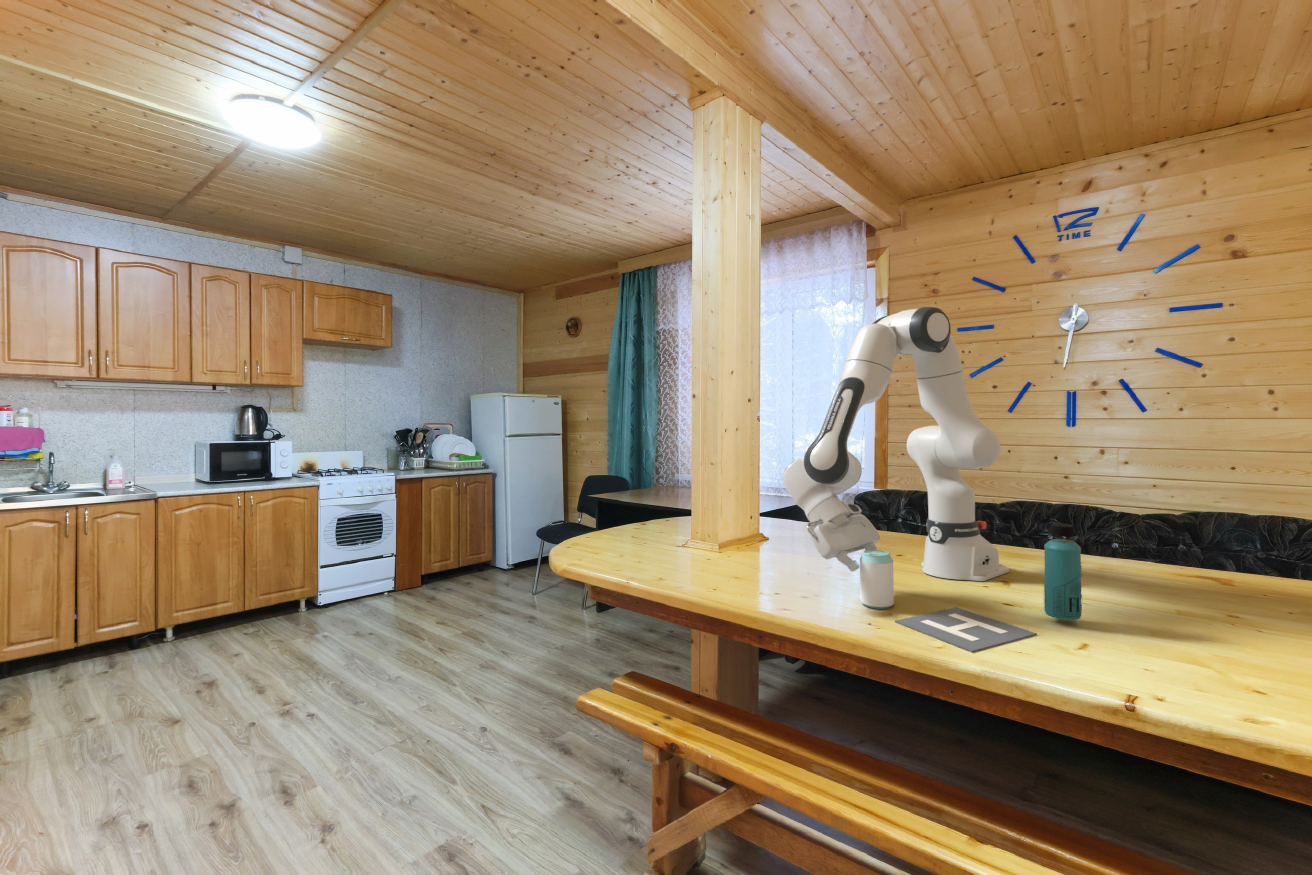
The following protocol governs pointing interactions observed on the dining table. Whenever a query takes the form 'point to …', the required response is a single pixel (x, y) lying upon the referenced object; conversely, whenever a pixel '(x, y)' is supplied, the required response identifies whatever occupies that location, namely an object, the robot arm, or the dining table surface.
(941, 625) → the letter mat
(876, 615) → the dining table surface
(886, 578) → the can
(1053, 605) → the beverage bottle
